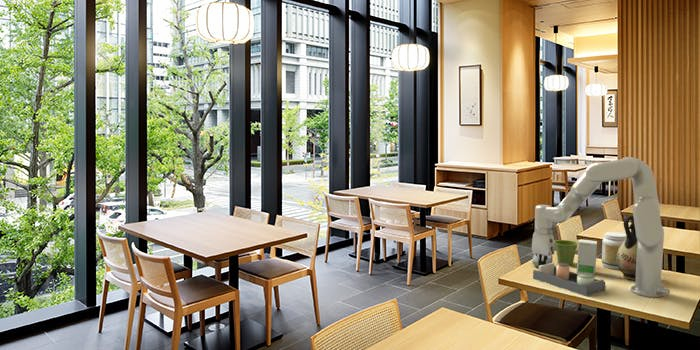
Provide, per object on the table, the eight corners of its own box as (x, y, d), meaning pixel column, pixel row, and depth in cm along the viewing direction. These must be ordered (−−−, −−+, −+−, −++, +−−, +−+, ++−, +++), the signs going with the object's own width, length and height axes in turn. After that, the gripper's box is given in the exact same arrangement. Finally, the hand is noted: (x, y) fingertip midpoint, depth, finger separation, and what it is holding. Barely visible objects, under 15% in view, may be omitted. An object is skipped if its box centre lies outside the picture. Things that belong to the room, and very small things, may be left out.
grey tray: (605, 290, 219) (605, 279, 218) (586, 296, 212) (586, 284, 212) (551, 274, 243) (551, 264, 242) (533, 278, 237) (533, 268, 236)
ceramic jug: (631, 271, 246) (634, 211, 242) (660, 280, 231) (664, 216, 228) (605, 275, 240) (607, 214, 236) (633, 285, 225) (636, 220, 222)
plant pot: (579, 262, 262) (579, 241, 261) (575, 268, 252) (576, 246, 251) (555, 259, 268) (555, 238, 267) (551, 264, 258) (551, 243, 257)
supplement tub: (620, 263, 259) (621, 231, 258) (633, 270, 247) (635, 236, 245) (596, 263, 259) (598, 231, 258) (609, 270, 247) (610, 237, 245)
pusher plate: (553, 275, 240) (554, 263, 239) (540, 278, 235) (540, 266, 234) (545, 272, 244) (545, 260, 243) (531, 275, 239) (531, 263, 239)
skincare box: (576, 272, 244) (577, 241, 243) (577, 269, 250) (578, 238, 248) (595, 275, 240) (596, 243, 239) (596, 271, 246) (597, 240, 244)
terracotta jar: (571, 283, 229) (572, 264, 228) (563, 285, 226) (564, 266, 225) (561, 280, 234) (561, 261, 233) (553, 282, 231) (553, 263, 230)
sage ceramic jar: (597, 291, 217) (598, 276, 217) (583, 293, 216) (583, 277, 215) (587, 287, 224) (587, 272, 223) (573, 288, 223) (573, 273, 222)
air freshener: (536, 262, 263) (537, 244, 262) (553, 264, 258) (553, 246, 257) (531, 267, 254) (531, 248, 253) (548, 270, 249) (548, 250, 248)
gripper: (561, 232, 233) (560, 270, 235) (535, 227, 246) (534, 263, 248) (550, 234, 229) (549, 273, 231) (525, 228, 242) (524, 265, 244)
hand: (542, 268), depth 240 cm, fingers closed
